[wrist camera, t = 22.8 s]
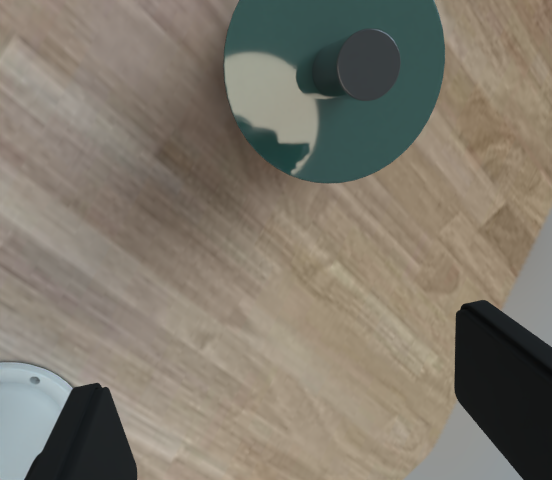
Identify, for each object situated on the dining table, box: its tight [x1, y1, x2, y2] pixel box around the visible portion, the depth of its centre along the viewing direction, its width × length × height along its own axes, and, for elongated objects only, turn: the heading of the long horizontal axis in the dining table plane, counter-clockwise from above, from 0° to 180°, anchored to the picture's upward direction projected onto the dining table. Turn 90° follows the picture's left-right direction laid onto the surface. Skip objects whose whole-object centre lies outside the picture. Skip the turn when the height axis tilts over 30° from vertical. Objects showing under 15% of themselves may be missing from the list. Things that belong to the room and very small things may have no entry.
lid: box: [223, 0, 445, 183], centre depth 21 cm, size 13×13×6 cm
